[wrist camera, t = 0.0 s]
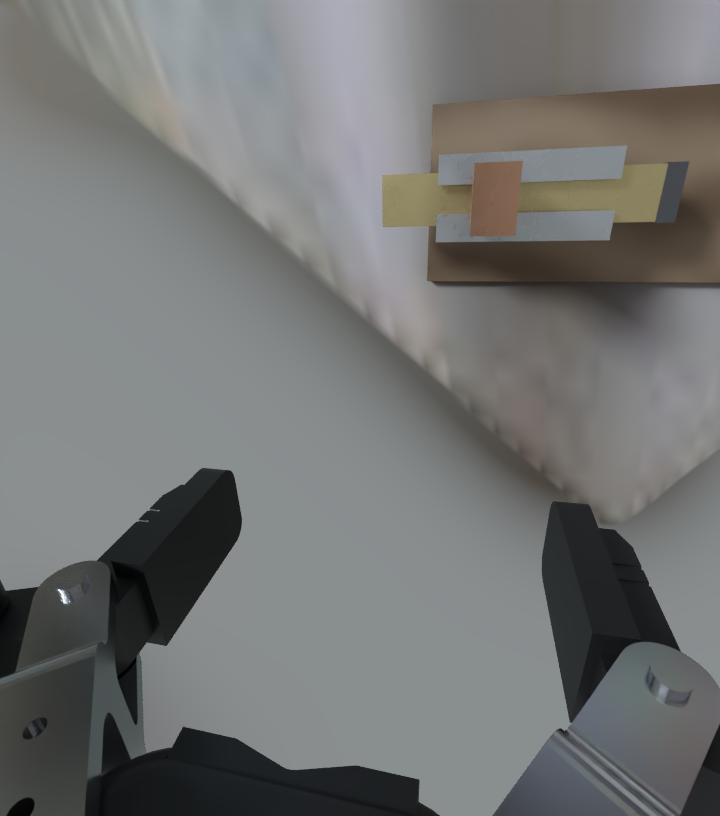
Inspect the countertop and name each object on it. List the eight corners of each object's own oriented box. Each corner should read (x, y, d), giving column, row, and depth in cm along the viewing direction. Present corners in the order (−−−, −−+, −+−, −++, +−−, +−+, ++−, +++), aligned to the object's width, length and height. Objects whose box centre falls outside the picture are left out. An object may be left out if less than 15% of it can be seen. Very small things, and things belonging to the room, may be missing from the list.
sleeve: (444, 162, 33) (438, 154, 27) (593, 155, 31) (627, 145, 24) (441, 233, 35) (435, 242, 29) (581, 231, 33) (609, 240, 27)
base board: (433, 107, 33) (432, 104, 32) (911, 72, 27) (927, 68, 26) (428, 279, 38) (427, 281, 37) (830, 280, 32) (840, 283, 31)
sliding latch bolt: (389, 175, 31) (351, 167, 21) (667, 164, 28) (784, 147, 17) (389, 224, 32) (353, 239, 22) (655, 219, 29) (757, 233, 19)
